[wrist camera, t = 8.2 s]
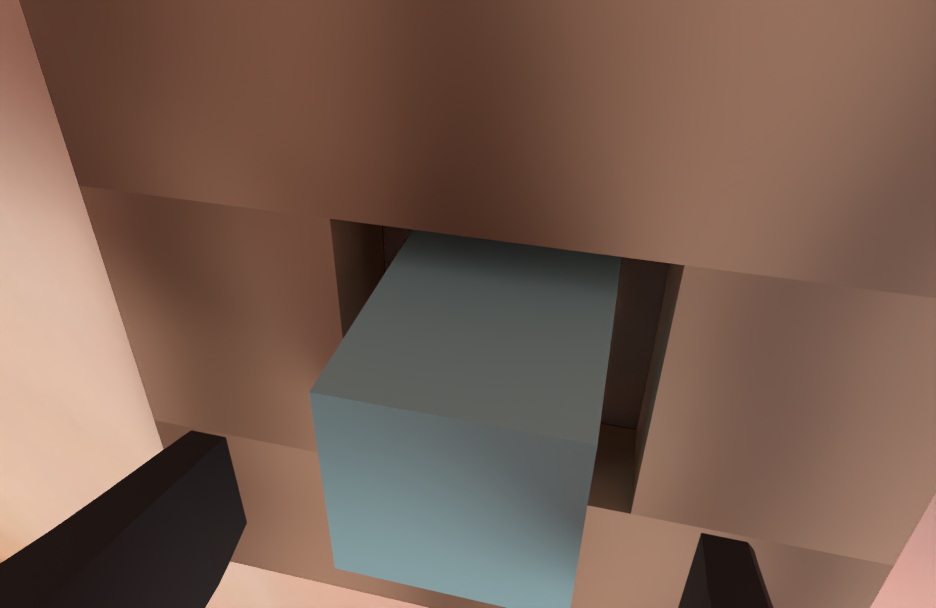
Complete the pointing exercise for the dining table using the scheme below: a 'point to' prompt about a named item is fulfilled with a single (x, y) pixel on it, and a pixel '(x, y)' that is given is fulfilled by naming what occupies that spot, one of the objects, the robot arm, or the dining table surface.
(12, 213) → the dining table surface
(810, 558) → the block with rectangular hole
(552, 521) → the pale blue box
